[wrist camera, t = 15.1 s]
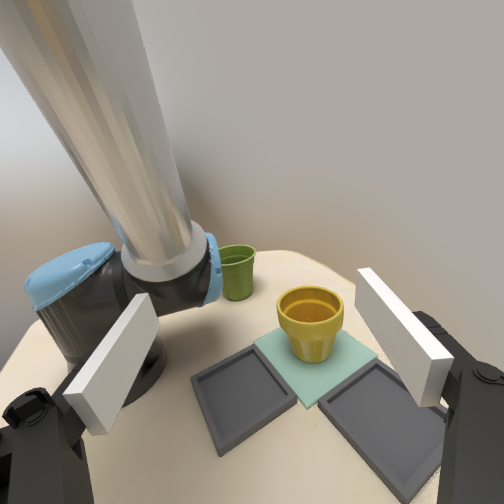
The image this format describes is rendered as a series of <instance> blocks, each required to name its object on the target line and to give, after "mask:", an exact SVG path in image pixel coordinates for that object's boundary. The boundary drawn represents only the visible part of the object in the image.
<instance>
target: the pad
mask: <svg viewBox="0 0 504 504" xmlns="http://www.w3.org/2000/svg"><path fill="white" fill-rule="evenodd" d="M253 342H254V344H255V345H256V346H257V347H258V349H259V350H260V351H261V352H262V354H263V355H264V356H265V357H266V359H267V360H268V361H269V362H270V363H271V365H272V366H273V367H274V368H275V370H276V371H277V372H278V373H279V375H280V376H281V377H282V378H283V379H284V381H285V382H286V383H287V384H288V386H289V387H290V388H291V389H292V391H293V392H294V393H295V394H296V396H297V398H298V399H299V400H300V401H301V403H302V404H303V405H304V406H305V408H306V409H308V408H310V407H311V406H313V405H314V404H315V403H317V402H318V399H319V398H320V397H321V396H323V395H324V394H326V393H327V392H328V391H330V390H331V389H332V388H334V387H335V386H336V385H338V384H339V383H341V382H342V381H343V380H345V379H346V378H347V377H349V376H350V375H351V374H353V373H354V372H356V371H357V370H358V369H360V368H361V367H362V366H364V365H365V364H367V363H368V362H369V361H371V360H372V359H373V358H375V357H376V358H378V355H377V354H376V353H374V352H373V351H372V350H370V349H369V348H367V347H366V346H364V345H363V344H362V343H360V342H359V341H357V340H356V339H355V338H353V337H352V336H350V335H349V334H347V333H346V332H345V331H343V330H342V329H340V330H339V331H338V332H337V333H336V337H335V340H334V344H333V347H332V351H331V354H330V356H329V357H328V358H327V359H326V360H324V361H322V362H319V363H308V362H305V361H302V360H301V359H299V358H298V357H297V356H296V355H295V354H294V352H293V350H292V347H291V344H290V342H289V339H288V337H287V334H286V332H285V331H284V330H283V329H282V328H281V327H280V328H278V329H276V330H274V331H272V332H271V333H269V334H267V335H265V336H263V337H261V338H259V339H257V340H255V341H253Z"/></svg>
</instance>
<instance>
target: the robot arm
mask: <svg viewBox="0 0 504 504" xmlns="http://www.w3.org/2000/svg"><path fill="white" fill-rule="evenodd" d="M0 47H1V49H2V51H3V52H4V54H5V55H6V57H7V59H8V60H9V62H10V63H11V65H12V66H13V68H14V70H15V71H16V73H17V74H18V76H19V78H20V79H21V81H22V82H23V84H24V86H25V87H26V89H27V90H28V92H29V93H30V95H31V97H32V98H33V100H34V101H35V103H36V105H37V106H38V108H39V109H40V111H41V112H42V114H43V116H44V117H45V119H46V120H47V121H48V124H49V125H50V127H51V128H52V130H53V131H54V133H55V135H56V136H57V138H58V139H59V141H60V142H61V144H62V146H63V147H64V149H65V150H66V152H67V153H68V155H69V157H70V158H71V160H72V161H73V163H74V164H75V166H76V168H77V169H78V171H79V172H80V174H81V176H82V177H83V179H84V180H85V182H86V184H87V185H88V187H89V188H90V190H91V191H92V193H93V195H94V196H95V198H96V199H97V201H98V202H99V204H100V206H101V207H102V209H103V211H104V212H105V214H106V215H107V217H108V218H109V220H110V222H111V223H112V225H113V226H114V228H115V229H116V231H117V233H118V234H119V236H120V237H121V239H122V241H123V242H124V245H123V247H122V251H118V252H116V251H115V247H114V246H112V244H110V243H108V242H104V243H102V242H100V243H95V244H91V245H87V246H84V247H81V248H78V249H76V250H73V251H71V252H68V253H66V254H64V255H61V256H59V257H57V258H55V259H53V260H51V261H49V262H48V263H46V264H44V265H42V266H41V267H39V268H38V269H37V270H35V271H34V272H32V273H31V274H30V275H29V277H28V278H27V279H26V281H25V284H24V288H25V291H26V293H27V295H28V297H29V299H30V302H31V304H32V309H33V310H34V311H36V312H37V314H38V316H39V317H40V319H41V320H42V322H43V324H44V325H45V327H46V328H47V330H48V332H49V333H50V335H51V336H52V338H53V340H54V341H55V343H56V344H57V346H58V348H59V349H60V351H61V352H62V354H63V355H64V357H65V359H66V360H67V364H68V375H67V377H66V378H65V379H64V381H63V382H62V383H61V385H60V386H59V387H58V388H57V390H56V391H55V392H54V394H53V395H52V396H50V395H49V393H48V392H47V391H46V389H45V388H41V387H39V388H34V389H31V390H29V391H27V392H25V393H23V394H22V395H20V396H19V397H17V398H16V399H15V400H14V401H12V402H11V403H10V404H9V405H8V407H7V408H6V409H5V410H4V413H3V415H2V417H3V418H4V420H5V421H6V422H7V423H8V424H9V426H6V427H3V428H1V429H0V504H94V499H93V493H92V487H91V481H90V475H89V469H88V464H87V458H86V452H85V446H84V441H83V439H82V438H81V435H82V434H83V432H84V430H85V428H87V430H88V431H89V433H90V434H91V435H92V436H93V435H104V434H109V432H110V430H111V428H112V426H113V424H114V422H115V420H116V418H117V416H118V414H119V412H120V409H121V407H123V406H125V405H127V404H129V403H131V402H132V401H134V400H135V399H137V398H138V397H139V396H141V395H142V394H143V393H144V392H146V391H147V390H148V389H149V388H150V387H151V386H152V385H153V383H154V382H155V381H156V380H157V379H158V377H159V376H160V374H161V372H162V370H163V368H164V366H165V362H166V351H165V349H164V346H163V343H162V341H161V340H160V338H159V337H158V336H157V332H158V330H159V328H160V323H159V321H158V318H157V317H160V316H164V315H168V314H172V313H175V312H179V311H183V310H187V309H191V308H194V307H203V306H204V305H205V304H208V303H212V302H215V301H217V300H218V299H219V298H220V296H221V294H222V290H223V277H222V271H221V259H220V254H219V249H218V245H217V242H216V239H215V237H214V235H212V234H211V233H205V232H204V231H203V229H202V228H201V227H200V226H199V225H198V224H197V223H195V222H194V221H192V220H190V216H189V212H188V209H187V205H186V201H185V198H184V194H183V190H182V186H181V183H180V179H179V175H178V171H177V168H176V164H175V160H174V156H173V153H172V149H171V145H170V141H169V138H168V134H167V130H166V127H165V123H164V119H163V115H162V112H161V108H160V104H159V100H158V97H157V93H156V89H155V86H154V82H153V78H152V74H151V70H150V67H149V63H148V59H147V55H146V52H145V48H144V44H143V40H142V37H141V33H140V29H139V26H138V22H137V18H136V14H135V11H134V7H133V3H132V0H0ZM355 307H356V308H357V310H358V312H359V313H360V315H361V316H362V318H363V320H364V321H365V323H366V324H367V326H368V327H369V329H370V331H371V332H372V334H373V335H374V337H375V339H376V340H377V342H378V343H379V345H380V346H381V348H382V350H383V351H384V353H385V354H386V356H387V357H388V359H389V361H390V362H391V364H392V365H393V367H394V369H395V370H396V372H397V373H398V375H399V376H400V378H401V380H402V381H403V383H404V384H405V386H406V388H407V389H408V391H409V392H410V394H411V395H412V397H413V399H414V400H415V402H416V403H417V405H418V406H419V408H420V407H432V406H439V403H440V400H441V397H443V399H444V400H445V401H446V403H447V404H448V405H449V407H448V410H447V413H446V416H445V419H444V422H443V423H445V424H446V427H445V435H444V444H443V453H442V462H441V470H440V479H439V488H438V497H437V504H504V373H503V372H502V371H501V370H499V369H498V368H496V367H494V366H492V365H490V364H487V363H483V362H480V361H477V360H476V359H475V358H474V357H472V355H470V353H468V352H467V351H466V350H465V349H464V348H463V347H462V346H461V345H460V344H459V343H458V342H457V341H456V340H455V339H454V338H453V337H452V336H451V335H450V334H448V332H447V331H446V330H445V329H444V328H442V327H441V325H440V324H438V322H437V321H435V319H433V318H432V317H431V316H429V315H427V314H425V313H423V312H422V311H417V312H411V311H410V310H409V309H408V308H407V307H406V306H405V305H404V304H403V303H402V302H401V301H400V299H399V298H398V297H397V296H396V295H395V294H394V293H393V292H392V291H391V290H390V289H389V288H388V287H387V286H386V285H385V283H384V282H383V281H382V280H381V279H380V278H379V277H378V276H377V275H376V274H375V273H374V272H373V271H372V270H371V268H363V269H357V278H356V293H355Z"/></svg>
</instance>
